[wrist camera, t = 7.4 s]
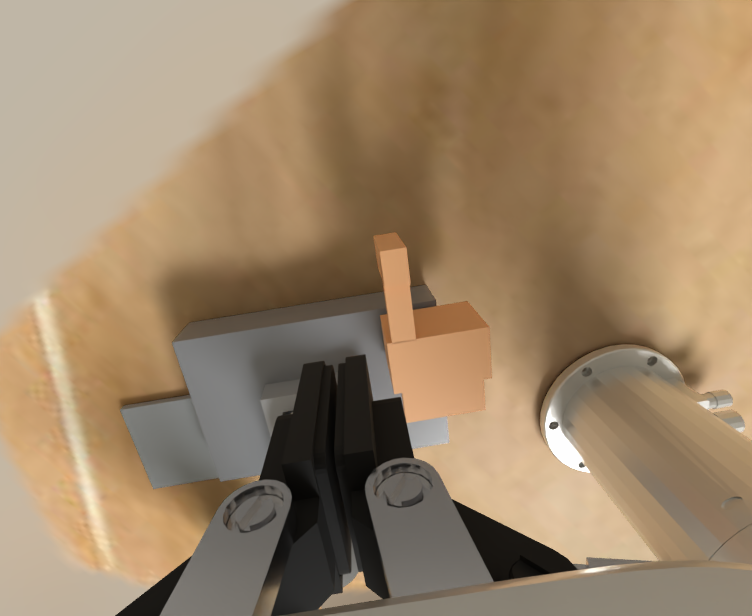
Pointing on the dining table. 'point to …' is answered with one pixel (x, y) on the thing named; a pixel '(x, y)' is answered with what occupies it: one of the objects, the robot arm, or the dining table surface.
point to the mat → (170, 441)
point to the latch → (430, 344)
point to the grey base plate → (282, 371)
